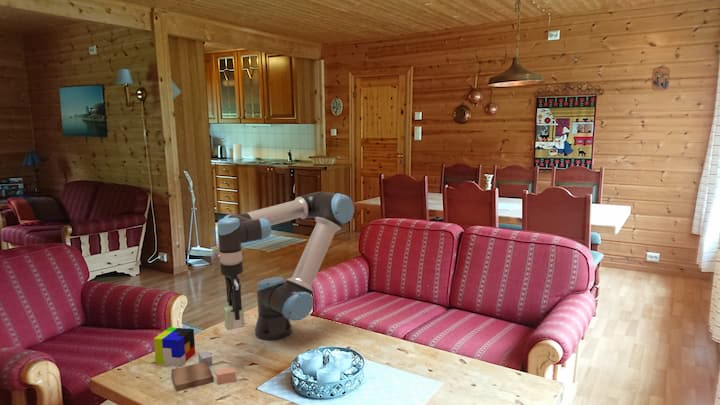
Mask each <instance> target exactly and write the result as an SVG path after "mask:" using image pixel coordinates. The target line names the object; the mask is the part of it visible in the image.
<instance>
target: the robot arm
mask: <svg viewBox="0 0 720 405" xmlns="http://www.w3.org/2000/svg"><path fill="white" fill-rule="evenodd" d="M354 208H355V207H354V203H353V200H352V199H351V198H350V197H349V196H348V195H346V194H342V193H338V192H337V193H334V192H327V191H316V192H312V193H307V194H304V195H300V196H297V197H296V198H294V200H291V201H286V202H283V203H280V204H275V205H272V206H267V207H264V208H259V209H256V210H251V211H248V212H245V213H240V214H227V215H225V216H224V217H223V218H221V219H219V220H218V221H217V238H218V239H217V240H218V249H219V254H218V255H217V257H218V258H219V262H220V264H219V268H220V275H222V276H224V280H225V290H226V302H227V303H228V307H230V306H233V310H231V312H232V316H233V328H234V329H233V330H236V329H235V328H237V329H241V328H242V327H241V313H240V310H242V307H243V305H242V291H241V289H242V288H241V287H242V285H241V283H240V278H239V277H238V276H239V275H240V274H241V275H242V273H243V271H244V270H243V269H244V268H243V267H244V266H243V251H242V244H245V243H251V242H256V241H261V240H264V239H267V238H269V237H270V235H271V234H272V226H275V225H278V224H281V223H286V222H288V221H293V220H295V219H301V220H304V219H309V218H311V219H312V218H314V220H315V222H316V223H315V226H314V228H313V231H312V232H311V234H310V236H309V239H308V240H307V243H306V245H305V248H304V250H303V252H302V254H301V257H300V259H299V261H298V263H297V265H296V267H295V270H294V271H293V274H292V276H291V277H289V278H287V279H285V278H284V277H282V276H275V277H268V278H264V279H261V280H260V281H258V282H257V283H256V293H257V294H256V295H257V296H256V297H257V299H256V300H257V312H258V316H257V319H256V324H255V326H254V335H255V337H256V338H258V339H259V340H264V341H275V340H279V339H284V338H286V337H288V336H289V335H291V333H292V331H293V328H292V324H291V323H292V322H291V321H301V320H303V319H305V318H307V317H308V316H309V315H310V313H311V312H312V310H313V307H314V297H313V296H312V294H313V293H314V289H313V287H312V286H313V283H314V281H315V279H316V277H317V275H318V272H319V270H320V267H321V265H322V264H323V261H324V258H325V256H326V254H327V252H328V250H329V247H330V245H331V243H332V241H333V238H334V236H335V234H336V232H338V231H340V230H341V229H342V227H343V225H344V224H348V223H349V222H351V220H352V219H353V216H354V212H355V211H354ZM290 320H291V321H290ZM240 327H241V328H240Z"/></svg>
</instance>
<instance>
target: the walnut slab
mask: <svg viewBox="0 0 720 405" xmlns="http://www.w3.org/2000/svg"><path fill="white" fill-rule="evenodd" d="M170 370H171V378H172V381H173V384H174V388H175V391H176V392H179V391H182V390H188V389H192V388H194V387H198V386H202V385H206V384H210V383H214V375H213V373H212V370H211V368H210V366H209V365H208V363H207V361H206V362H202V363H200V362H199V363H198V362H197V363H193V364H189V365H184V366H179V367H176V368H173V369H170Z"/></svg>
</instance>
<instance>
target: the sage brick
mask: <svg viewBox="0 0 720 405" xmlns="http://www.w3.org/2000/svg"><path fill="white" fill-rule="evenodd" d="M244 309H245V308H244V307H243V306H242V310H240V313H241V327H240V328H239V329H241V328H246V326H245V310H244ZM231 310H233V306H230V307H229V306H225V307H223V313H224V327H225V329H226V330H227V331H232V330H236V329H238V328H235V329H234V328H233V316H232V312H231Z"/></svg>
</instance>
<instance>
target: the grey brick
mask: <svg viewBox="0 0 720 405" xmlns="http://www.w3.org/2000/svg"><path fill="white" fill-rule="evenodd" d="M197 354H198V362H199V363H202V362H206V361H207V363H208V365H209V367H211V366H213V356H212V354H211V352H210V351H209V350H208V349H206V350H202V351H199V352H197Z"/></svg>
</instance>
